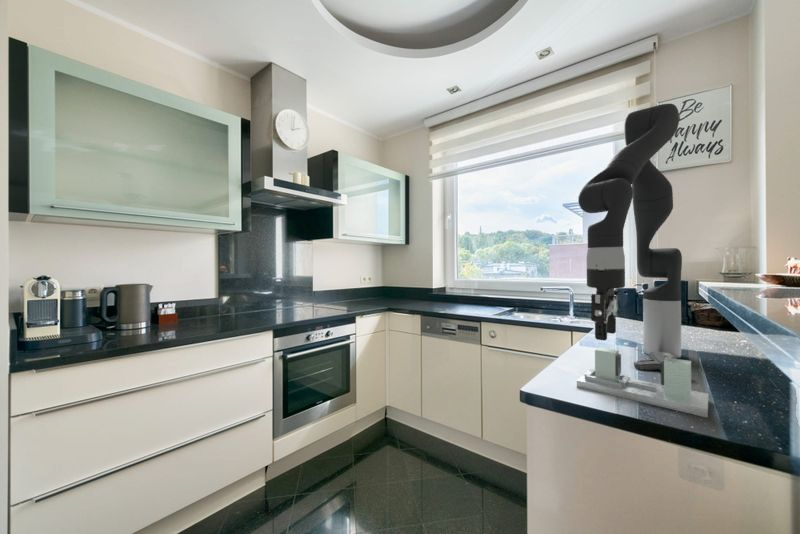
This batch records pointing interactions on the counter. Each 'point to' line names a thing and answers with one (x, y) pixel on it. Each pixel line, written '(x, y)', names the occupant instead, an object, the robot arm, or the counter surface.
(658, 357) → the dark grey bracket
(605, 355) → the pale grey upright block
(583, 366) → the counter surface
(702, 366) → the counter surface
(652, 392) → the rail
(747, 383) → the counter surface
